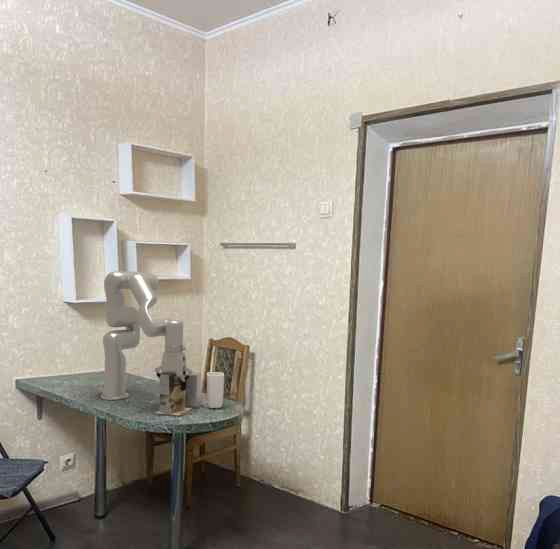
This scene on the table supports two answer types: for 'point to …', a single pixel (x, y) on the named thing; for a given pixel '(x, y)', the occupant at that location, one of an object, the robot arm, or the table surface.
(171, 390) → the coffee box
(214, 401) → the cup
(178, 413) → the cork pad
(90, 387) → the table surface
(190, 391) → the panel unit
